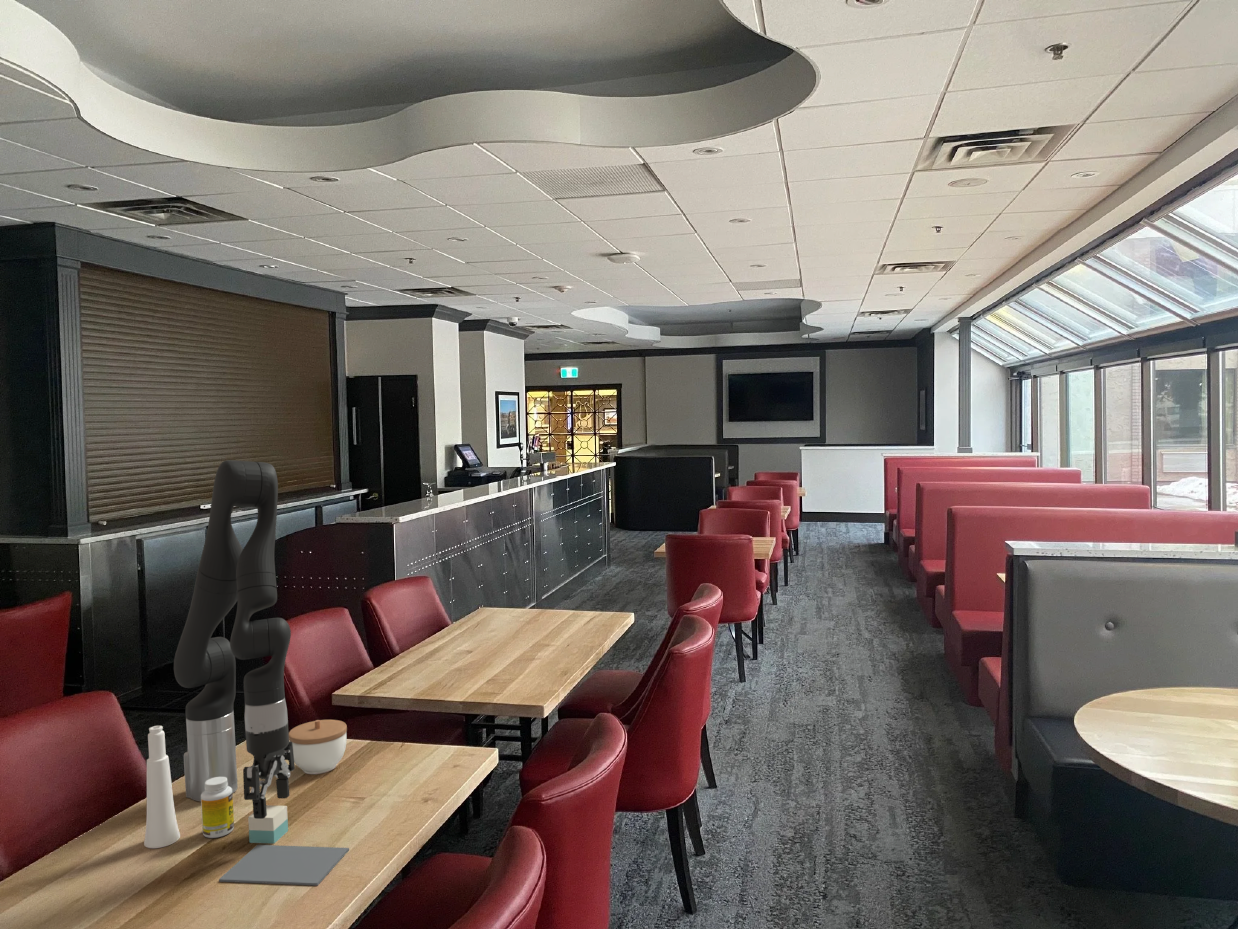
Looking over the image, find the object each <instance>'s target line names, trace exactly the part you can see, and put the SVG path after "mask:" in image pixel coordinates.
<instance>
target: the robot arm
mask: <svg viewBox="0 0 1238 929" xmlns="http://www.w3.org/2000/svg"><path fill="white" fill-rule="evenodd" d="M278 495H279V481H278V476H277V471H276V468H275V467H274V465H272V464H271V463H268V462H264V461H247V460H235V459H234V460H233V459H232V460H231V459H230V460H229V459H228V460H223V461H222V462H221V463H220V464H219V466H218V468H217V470H216V473H215V477H214V482H213V487H212V495H211V503H210V504H211V505H210V511H209V518H208V526H207V531H206V535H205V539H204V544H203V548H202V553H201V555H200V556H201V557H200V560H199V564H198V569H197V573H196V576H195V582H194V587H193V594H192V596H191V598H192V599H191V601H190V602H191V603H190V607H189V610H188V614H187V617H186V620H185V625H184V627H183V630H182V632H181V636H180V638H179V641H178V644H177V648H176V651H175V655H174V658H173V674H174V678H175V680H176V682H177V683H178V685H179V686H181V687H183V688H185V689H191V688H192V689H193V688H197V687H201V686H204V687H203V689H202V690H201V691H200V692H199V693H198V694H197V695H195V697H194V698H192V699H191V700H189V701H188V703H187V704H186V706H185V723H186V738H187V741H186V742H187V751H186V752H184V753H183V765H184V767H183V768H184V769H183V771H184V784H185V785H184V786H185V798H189V799H191V800H193V801H197V802H201V794H202V793H203V792H204V791H205V782H206V781H207V780H209V779H211V778H215V777H226V778H227V782H228V786H229V787H231V788H232V792H233V793H235V792H236V791H237V790H238V773H237V772H238V771H237V770H238V768H237V751H236V734H235V733H236V732H235V715H234V714H235V713H234V703H235V700H236V691H237V690H236V686H237V685H236V682H237V681H236V674H237V673H236V672H237V670H236V669H237V665H236V659H238V660H243V661H244V660H252V659H257V658H259V659H260V658H266V657H271V659H270V660H269V661H268V663H267V664H264V665H262V666H260V667H257V668H254V669H252V670H250V671H248V672H247V673H245V675H244V676H243V692H244V693H243V695H244V714H243V715H244V730H245V743H246V752H247V753H248V754H250V755H252V756H253V762H252V765H250V766H244V767H243V769H242V771H243V775H242V778H243V782H242V783H243V799H244V800H245V801H252V810H253V812H252V814H253V815H254V818H256V819H263V818H265V817H266V816H267V810H266V805H267V798H266V793H267V790H268V788H269V787H270V786H271V785H272V781H273V778H274V777H275V778H276V780H275V781H276V782H275V783H276V786H275V787H276V797H277V799H288V797H290V794H291V793H290V781H289V778H290V777H291V772H294V770H295V768H296V767H295V765H296V764H295V762H294V754H293V744H292V742H289V732H290V731H289V720H288V719H289V718H288V708H287V702H286V696H285V681H284V679H285V678H284V676H285V673H284V672H285V664H286V659H287V654H288V650H289V647H290V642H291V637H292V636H291V635H292V632H291V627H290V624H289V623H288V621H287V620H285V619H284V618H282V617H272V618H271V617H270V618H264V619H263V618H262V619H256V620H250V619H251V617H252V616H253V614H255V613H257V612H259V611H262V610H265V609H268V608H270V607H273V606H274V605H275V604H276V603H277V601H278V591H277V590H278V588H277V576H276V575H277V574H276V566H275V565H276V563H275V546H276V545H275V544H276V531H277V517H278V516H277V515H278V513H277V512H278V498H279V496H278ZM234 507H242V508H256V510H257V520H256V525H255V527H254V530H253V531H252V533H251V535H250V537H249V539H248V541H247V542H246V544H245V545H244V547H243V546H242V545H241V543H240V541H239V539H238V538H237V536H236V534H235V531H234V528H233V524H232V512H233V509H234ZM236 603H237V606H236V613H235V618H234V624H233V628H232V631H231V636H230V640H228V638H226V637H223V636H216V637H212V636H213V633H214V632H215V630H216V628H217V627H218V626H219V624H220V623H221V622H222V620H223V619H224V618H225V617H226V616H227V615H228V614H229V612H230V611H231V610H232V608H234V607H235V605H236ZM287 761H288V763H287ZM260 787H261V788H260Z"/></svg>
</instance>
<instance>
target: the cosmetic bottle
mask: <svg viewBox="0 0 1238 929" xmlns="http://www.w3.org/2000/svg"><path fill="white" fill-rule="evenodd" d="M163 727H164V726H162V725H154V726H150V727H149V728H148V730H149V733H148V734H147V741H148V742H147V744H148V758H147V759H146V824H145V825H146V826H145V835H144V843H143V845H144V847H146V848H147V849H159V848H165V847H168V846H170V845H172V844H175V843H176V842H177V841H178V840H179V839H181V833H180V830H179V825H178V821H177V816H176V810H175V803H174V794H173V787H172V776H171V767H170V758H169V755H168V754H166V753H167V752H166V738H165V736H166V735H165V731H164V730H163V729H164V728H163Z"/></svg>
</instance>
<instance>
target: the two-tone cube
mask: <svg viewBox="0 0 1238 929" xmlns="http://www.w3.org/2000/svg"><path fill="white" fill-rule="evenodd" d="M266 810H267V816H266V817H265V818H263V819H256V818H254V815H253V813H251V814H250V815H249V816H248V819H247V821H248V837H249V839H248V841H249V844H250V843H251V844H253V843H254V844H272V845H274V844H276V843H277V842H278V841H279V840H280V839H281V838H282V837H283V836H284V835H285V834H287V832H288V831H289V821H288V806H287V805H271V804H270V805H269V804H266Z"/></svg>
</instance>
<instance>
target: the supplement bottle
mask: <svg viewBox="0 0 1238 929" xmlns="http://www.w3.org/2000/svg"><path fill="white" fill-rule="evenodd" d="M200 806H201V807H200V808H201V810H200V811H201V824H202V825H201V826H202V834H203V836H204V837H205V838H210V839H217V838H220V837H224V836H227V835H228V834H230V833H231V832H232V831H233V830H234V829H235V816H234V796H233V792H232V788H231V787H229V786H228V782H227V778H226V777H215V778H211V779H209V780H207V781H206V782H205V791H204V792H203V793H202V794H201V801H200Z"/></svg>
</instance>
